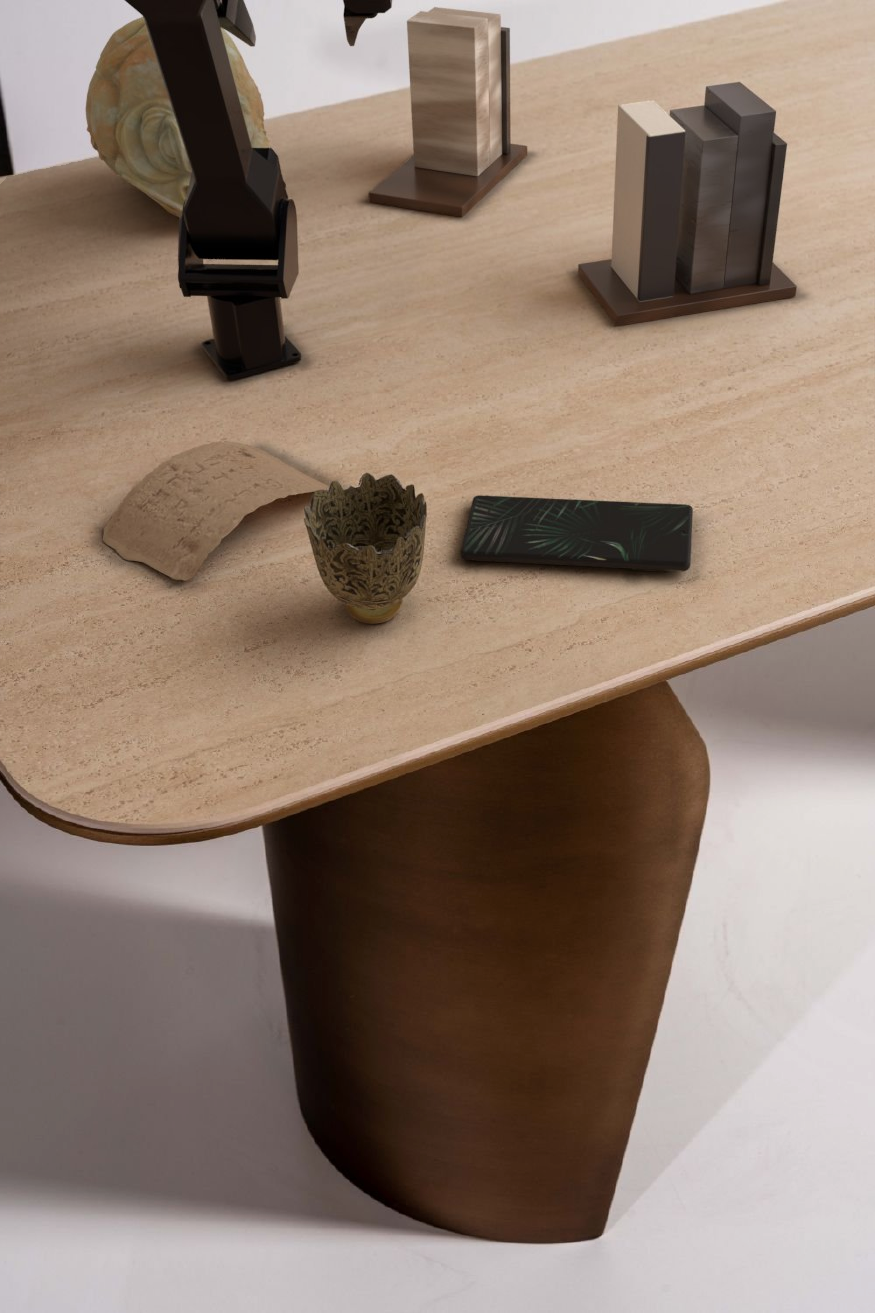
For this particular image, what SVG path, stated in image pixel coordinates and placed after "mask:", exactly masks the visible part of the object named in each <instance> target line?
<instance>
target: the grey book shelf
mask: <svg viewBox="0 0 875 1313" xmlns="http://www.w3.org/2000/svg"><path fill="white" fill-rule="evenodd" d="M669 116H670V117H671V118H672V119H673V120H674V121H676V122H677V123H678V124H679V125H680V126H681V127H682V128H683V129H684V130H685V132H686V136H685V149H684V163H683V176H682V189H681V203H680V216H679V229H678V243H677V256H676V269H675V282H674V296H673V297H669V298H662V299H656V300H650V301H644V302H639V301H638V300H637V298H636V297H635V296H634V295H633V293H632V292H631V291H630V290H629V288H628V287H627V286H626V285H625V283H624V282H623V281H622V280H621V278H620V277H619V276H618V275H617V273H616V272H615V271H614V270H613V268H612V267H611V259H612V258H610V259H609V258H608V259H603V260H597V261H596V260H595V261H590V262H584V263H578V265H577V275H578V277H579V278H580V280H581V281H582V282H583V283H584V285H585V286H586V287H587V289H588V290H589V292H591V294H592V295H593V297H594V298H595V299H596V301H597V302H598V303H599V304H600V306H601V307H602V308H603V310H604V311H605V312H606V314H607V315H608V316H609V318H610V319H611V320H612V322H613V323H614V324H615V326H617V327H620V326H626V325H632V324H638V323H644V322H651V321H656V320H662V319H668V318H674V317H680V316H687V315H693V314H698V313H699V314H700V313H704V312H710V311H717V310H723V309H729V308H735V307H736V308H737V307H741V306H747V305H753V304H759V303H766V302H771V301H777V300H783V299H790V298H795V297H796V294H797V288H798V286H797V285H796V284H795V282H794V281H793V280H791V278H790V277H789V276H788V275H786V274H785V272H783V270H782V269H781V268H779V267H778V266H777V265H776V264H775V263H774V254H775V246H776V239H777V238H776V237H777V232H778V231H777V230H778V222H779V214H780V205H781V198H782V190H783V182H784V181H783V180H784V173H785V165H786V156H787V148H788V142H786V141H785V140H784V139H782V137H780V136H779V135H778V134H777V133H775V126H776V117H777V110H776V109H774V108H773V107H772V106H771V105H769V104H768V103H767V102H766V101H765V100H763V98H761V97H759V95H757V94H755V93H754V91H752V90H751V89H750V88H748V87H747V86H746V85H744V84H743V83H742V82H741V81H735V82H729V83H721V84H714V85H708V86H705V91H704V102H703V104H702V105H697V106H688V107H681V108H674V109H669Z"/></svg>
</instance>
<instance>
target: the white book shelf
mask: <svg viewBox="0 0 875 1313" xmlns="http://www.w3.org/2000/svg"><path fill="white" fill-rule="evenodd" d="M406 32H407V34H406V36H407V51H408V54H407V55H408V69H409V89H410V91H409V92H410V109H411V110H410V111H411V128H412V131H411V132H412V147H413V148H412V149H413V155H412V156H411V157H409V158H408V159H407V160H405V162H403V163H401V165H400V166H398V167H397V168H396V169H395V170H394V171H392V172H391V173H390V174H389V175H388V176H386V177H385V178H384V179H383V180H381V181H380V182H379V183H378V184H377V185H376V186H374V187H373V188H372V189H371V190H370V191H369V192H368V202H369V203H372V204H378V205H385V206H391V207H398V208H403V209H409V210H415V211H421V212H427V213H428V212H429V213H435V214H439V215H440V214H441V215H447V216H452V217H460V218H463V217H464V216H465V215H466V214H468V212H470V210H472V209H473V208H474V207H475V206H476V205H477V204H478V203H479V202H480V201H481V200H482V199H483V198H484V197H485V196H486V195H487V194H488V193H489V192H490V191H491V190H492V189H494V188H495V186H497V185H498V184H499V183H500V182H501V181H502V180H504V178H505V177H506V176H507V175H508V174H509V173H510V172H512V171H513V170H514V169H515V168H516V167H517V166H518V165H519V164H520V163H521V162H522V161H523V160H524V159H525V158H526V157H527V156H528V145H524V144H517V143H516V144H515V143H511V141H512V140H511V28H510V27H505V26H502V15H501V14H500V13H494V12H484V11H477V10H476V11H474V10H466V9H455V8H447V7H437V6H434V7H433V8H431V9H430V10H428V11H424V10H423V11H422V10H420V11H419V12H417V13H416V14H414V15H412V16H411V17H410V18H408V19H407V20H406Z"/></svg>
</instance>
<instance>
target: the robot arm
mask: <svg viewBox="0 0 875 1313" xmlns="http://www.w3.org/2000/svg"><path fill="white" fill-rule="evenodd" d="M124 1H125V2H126V3H127V4H128V5H129V6H131V7H132V8H133V9H134V10H135V11H137V13H139V14H140V15H141V17H143V18H144V21H145V24H146V27H147V30H148V33H149V36H150V39H151V43H152V46H153V49H154V52H155V55H156V58H157V62H158V65H159V68H160V71H161V74H162V77H163V81H164V84H165V87H166V90H167V93H168V96H169V100H170V103H171V106H172V109H173V112H174V115H175V119H176V122H177V125H178V128H179V131H180V134H181V138H182V141H183V144H184V147H185V150H186V153H187V156H188V160H189V163H190V166H191V169H192V173H191V178H190V182H189V187H188V191H187V196H186V200H185V202H184V205H183V211H182V215H181V216H180V217H178V241H177V242H178V243H177V244H178V246H177V249H178V250H177V264H178V265H177V266H178V269H177V281H178V287H179V289H180V290H181V293H182V296H183V298H191V297H206V299H207V305H208V312H209V317H210V324H211V330H212V335H213V338H211V339H207V340H204V341H202V342H201V347H202V350H203V351H204V353H205V354H206V355H207V357H208V358H209V359H210V360H211V361H212V363H213V364H214V365H215V367H216V368H217V369H218V371H219V372H220V373H221V374H222V376H223V377H224V378H225V379H226V380H228V381H232V380H237V379H241V378H244V377H249V376H252V375H256V374H258V373H263V372H266V371H270V370H274V369H278V368H280V367H285V366H288V365H291V364H296V363H298V362H300V361H302V353H301V352H300V350H298V349H297V347H296V346H295V344H293V343H292V341H290V340H289V338H288V337H287V335H285V328H284V327H285V326H284V320H283V311H282V303H281V299H283V300H284V299H286V300H288V299H289V298H290V295H291V293H292V290H293V288H294V285H295V283H296V280H297V278H298V276H299V269H300V268H299V240H298V236H299V235H298V215H297V207H296V203H295V201H294V199H293V198H289V196H288V192H287V184H286V182H285V180H284V176H283V174H282V169H281V164H280V158H279V155H278V154H277V153H276V151H275V150H274V149H273V148H272V147H269V148H252V146H251V143H250V139H249V135H248V131H247V127H246V123H245V120H244V116H243V112H242V108H241V104H240V100H239V97H238V93H237V89H236V85H235V81H234V77H233V74H232V70H231V66H230V62H229V58H228V54H227V51H226V47H225V43H224V39H223V35H222V31H221V28H223V29H224V30H225V31H226V32H227V33H229V34H231V35H233V36H234V37H235V38H237V39H238V40H240V41H241V42H243V43H244V44H246V45H248V46H249V47H252V48H253V47H254V48H255V47H256V42H257V35H256V30H255V27H254V23H253V20H252V18H251V16H250V13H249V10H248V8H247V4H246V3H245V0H124ZM342 3H343V14H342V15H343V16H342V17H343V22H344V29H345V36H346V41H347V43H348V45H349V46H350V47H354V46H355V44H356V41H357V38H358V34H359V30H360V29H361V28H362V26H363V24H364V22H365V21H367V20H368V19H374V18H376V17H377V16H378V14H385V13H387V12H388V11H389V10H391V9H392V6H393V0H342ZM204 260H225V261H227V260H228V261H235V260H236V261H277V264H240V263H239V264H237V263H236V264H235V263H233V264H231V263H229V264H228V263H227V264H226V263H204Z"/></svg>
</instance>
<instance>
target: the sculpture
mask: <svg viewBox="0 0 875 1313" xmlns="http://www.w3.org/2000/svg"><path fill="white" fill-rule="evenodd" d="M221 31H222V35H223V39H224V43H225V47H226V51H227V54H228V58H229V62H230V66H231V70H232V74H233V77H234V81H235V85H236V89H237V93H238V97H239V100H240V104H241V108H242V112H243V116H244V120H245V123H246V127H247V131H248V135H249V139H250V143H251V146H252V148H270V142H271V141H270V140H269V139H268V137H267V133H268V132H267V131H266V130H265V123H264V121H265V120H264V116H265V108H264V103H263V102H264V101H263V99H262V93H261V92H260V90H259V87H258V85H257V83H256V82H255V80H254V79H253V77H252V76H251V74H250V71H249V70H248V68H247V65H246V63H245V60H244V58H243V56H242V54H241V52H240V50H239V48H238V47H237V45H236V43H235V41H234V40H233V38H232V37H231V36H230V34H229V32H228V31H227V30H225V29H223V28H221ZM85 119H86V125H87V126H86V131H87V132H88V133H89V137H90V144H91V146H92V148H93V149H94V151H96V152H97V154H98V158H99V159H100V160H101V161H103V162H104V163H105V164H106V166H108V167H109V169H110V170H111V171H112V172H114V173H115V174H116V175H117V176H118V177H120V178H121V179H122V180H124V181H126V182H127V183H129V184H131V185H132V186H134V187H135V188H137V189H138V190H139V191H141V192H143V193H144V194H145V195H147V196H148V197H149V198H150V199H152V200H153V201H155V202H156V203H157V204H159V205H160V206H161V207H162V208H163V209H164V210H166V211H167V213H169V214H171V215H173V216H175V217H178V218H180V216H181V215H182V211H183V205H184V202H185V200H186V196H187V191H188V187H189V182H190V178H191V173H192V169H191V166H190V163H189V160H188V156H187V153H186V150H185V147H184V144H183V141H182V138H181V134H180V131H179V128H178V125H177V122H176V119H175V115H174V112H173V109H172V106H171V103H170V100H169V96H168V93H167V90H166V87H165V84H164V81H163V77H162V74H161V71H160V68H159V65H158V62H157V58H156V55H155V52H154V49H153V46H152V43H151V39H150V36H149V33H148V30H147V27H146V24H145V21H144V18H143V16H141V17H139V18H136V19H133V20H132V21H130V22H128V23H126V24H124V25H123V26H121V27H120V28H118V29H116V30H115V31H114V32H113V33H112V34H111V35H110V37H109V38H108V40H107V42H106V44H105V45H104V47H103V49H102V51H101V53H100V54H99V58H98V61H97V62H96V65H95V70H94V72H93V74H92V77H91V79H90V81H89V84H88V89H87V93H86V102H85Z"/></svg>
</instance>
